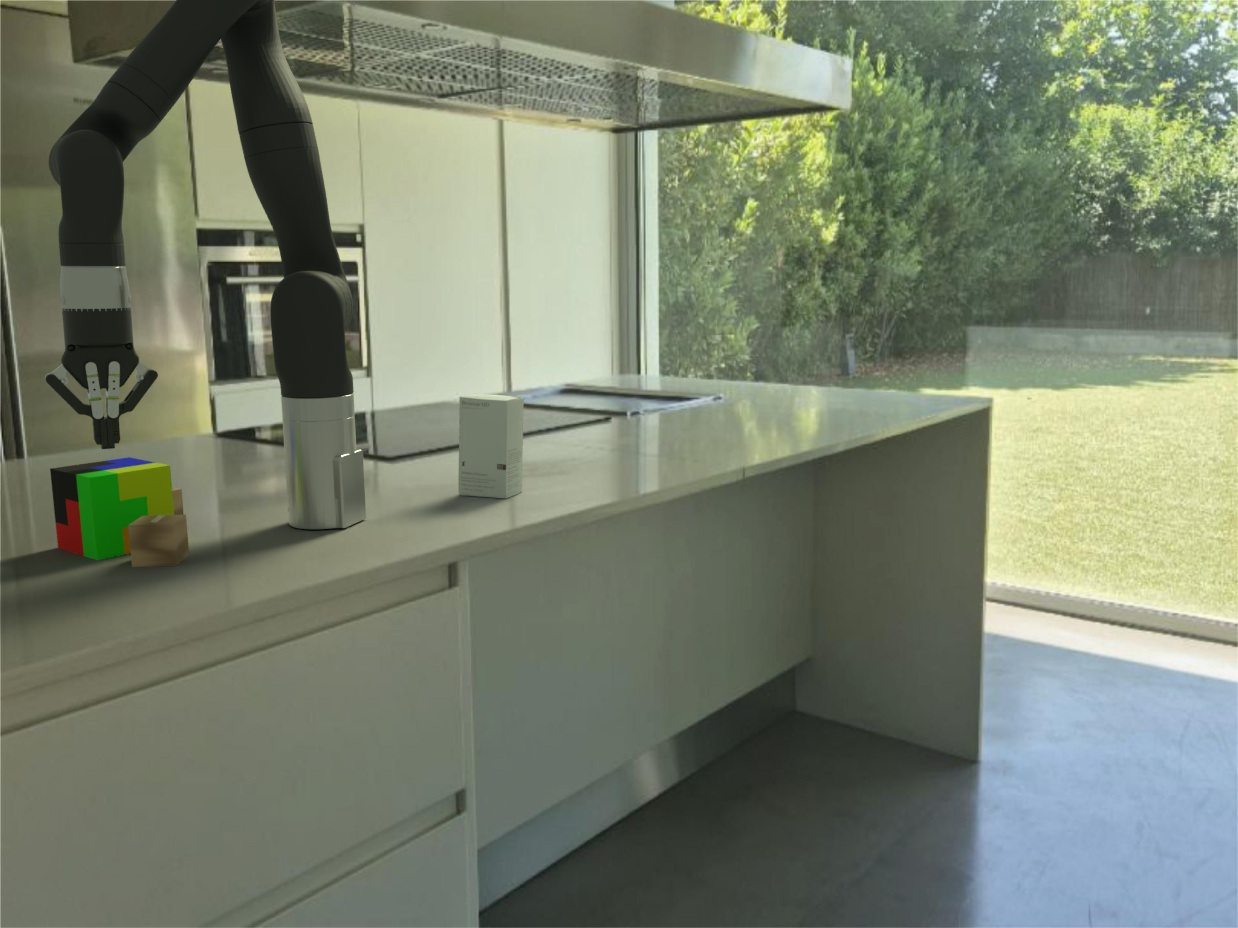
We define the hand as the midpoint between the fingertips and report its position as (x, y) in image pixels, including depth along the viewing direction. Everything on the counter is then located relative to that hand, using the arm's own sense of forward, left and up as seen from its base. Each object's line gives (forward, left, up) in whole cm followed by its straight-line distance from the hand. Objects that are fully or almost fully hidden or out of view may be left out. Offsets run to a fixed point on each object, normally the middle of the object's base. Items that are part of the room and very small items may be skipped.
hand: (107, 447), depth 137 cm
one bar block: (-10, +5, -12) cm, 17 cm away
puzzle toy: (0, 0, -13) cm, 13 cm away
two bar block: (+2, -10, -12) cm, 16 cm away
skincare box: (-34, -40, -13) cm, 54 cm away
